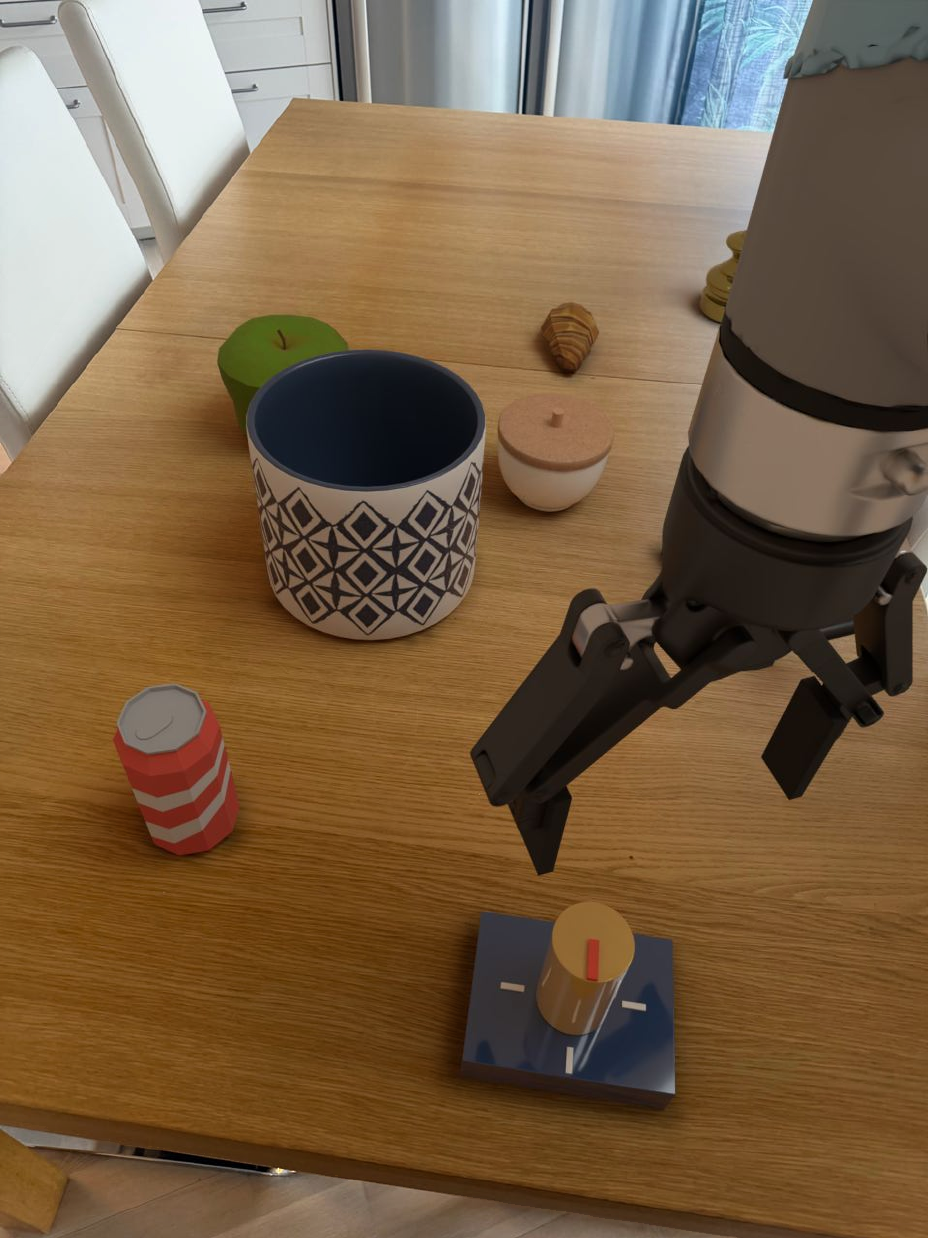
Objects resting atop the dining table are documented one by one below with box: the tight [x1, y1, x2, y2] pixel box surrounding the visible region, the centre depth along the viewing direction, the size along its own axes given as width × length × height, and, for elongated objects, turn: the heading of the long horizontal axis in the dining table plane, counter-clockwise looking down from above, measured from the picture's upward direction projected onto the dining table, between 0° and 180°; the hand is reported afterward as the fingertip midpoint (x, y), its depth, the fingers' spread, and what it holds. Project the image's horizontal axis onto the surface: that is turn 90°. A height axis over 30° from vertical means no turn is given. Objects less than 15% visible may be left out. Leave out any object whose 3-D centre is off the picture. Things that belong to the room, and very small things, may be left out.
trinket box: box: [496, 392, 615, 513], centre depth 87 cm, size 11×11×9 cm
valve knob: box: [536, 901, 635, 1035], centre depth 52 cm, size 4×4×8 cm
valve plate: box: [459, 910, 676, 1111], centre depth 56 cm, size 12×9×3 cm
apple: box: [216, 314, 350, 438], centre depth 91 cm, size 12×12×11 cm
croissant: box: [540, 301, 600, 375], centre depth 107 cm, size 14×7×5 cm, turn 175°
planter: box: [246, 349, 487, 641], centre depth 76 cm, size 18×18×16 cm
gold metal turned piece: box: [699, 229, 747, 324], centre depth 112 cm, size 7×7×10 cm
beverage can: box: [112, 682, 241, 856], centre depth 60 cm, size 6×6×12 cm
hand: (662, 811), depth 46 cm, fingers open, 13 cm apart
